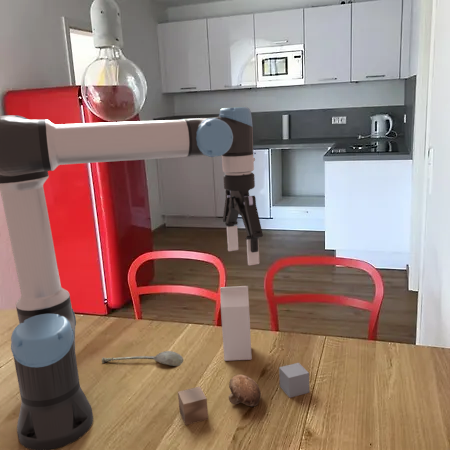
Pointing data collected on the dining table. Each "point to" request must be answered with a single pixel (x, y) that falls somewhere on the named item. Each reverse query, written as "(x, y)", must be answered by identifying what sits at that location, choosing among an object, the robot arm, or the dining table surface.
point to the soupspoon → (156, 358)
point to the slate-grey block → (294, 380)
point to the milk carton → (235, 323)
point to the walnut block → (193, 405)
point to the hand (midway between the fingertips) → (242, 257)
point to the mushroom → (244, 390)
